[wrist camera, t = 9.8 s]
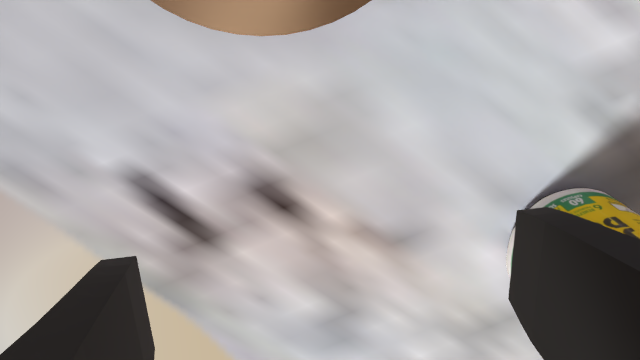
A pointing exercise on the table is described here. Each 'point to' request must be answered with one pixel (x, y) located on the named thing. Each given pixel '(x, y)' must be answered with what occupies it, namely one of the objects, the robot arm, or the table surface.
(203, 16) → the walnut bowl
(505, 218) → the table surface
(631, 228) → the supplement bottle
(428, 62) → the table surface
